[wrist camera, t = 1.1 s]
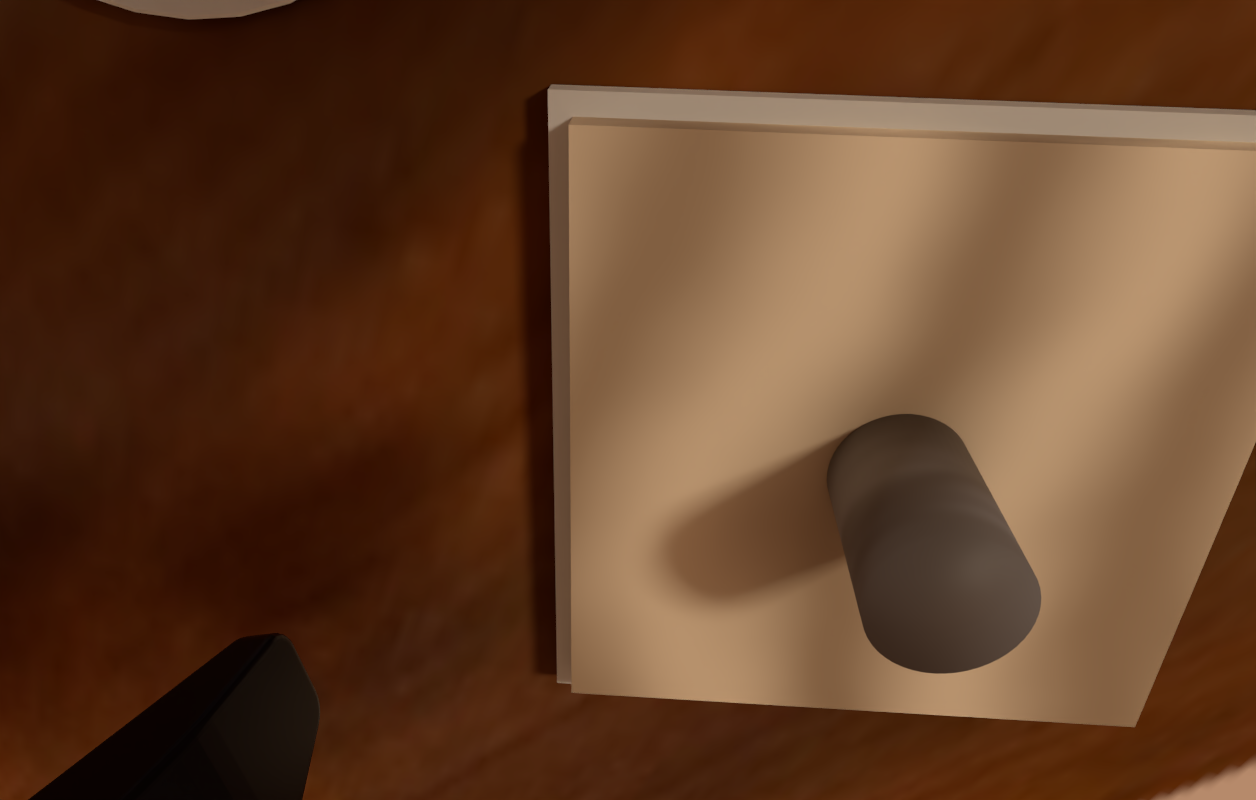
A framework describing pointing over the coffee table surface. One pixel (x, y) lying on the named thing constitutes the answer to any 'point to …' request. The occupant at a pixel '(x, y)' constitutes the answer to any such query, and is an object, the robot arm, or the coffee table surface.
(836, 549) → the lid
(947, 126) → the mat
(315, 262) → the coffee table surface
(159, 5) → the purple round dome
